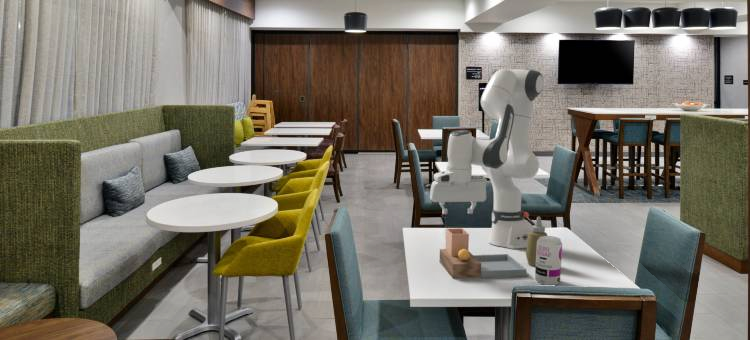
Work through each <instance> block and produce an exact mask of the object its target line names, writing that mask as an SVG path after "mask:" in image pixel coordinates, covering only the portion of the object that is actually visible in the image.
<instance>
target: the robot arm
mask: <svg viewBox="0 0 750 340" xmlns="http://www.w3.org/2000/svg"><path fill="white" fill-rule="evenodd" d="M543 87H544V76H543V75H542V73H541V72H540V71H538V70H534V69H530V70H529V69H523V68H514V69H513V68H512V69H511V68H509V69H508V68H498V69H495V70H493V71H492V72H491V73H490V74H489V76H488V81H487V84H486V86H485V88H484V90H483V92H482V95H481V97H480V106H481V108H482V110H483V112H484V113H485V114H486V115H488V116H489V117H490V118H492V119H495V120H496V121H498V124H497V129H496V132H495V137H494V138H492V139H483V138H476V137H474V136H472V135H473V134H472V132H471V131H470V130H467V129H457V130H454V131H451V132H450V134H449V137H448V143H447V154H446V155H447V156H446V157H447V164H446V169H445V170H442V171H438V172H436V173H434V174H433V179H434V180H433V181H432V182H431V185H430V192H429V199H430V200H431V202H433V203H439V206H440V208H441V209H442V210H441V211H442V212H441V213H442V215H448V208H445V206H446V205H445V203H452V202H453V203H460V202H461V203H462V202H463V203H465V202H466V203H467V202H468V203H469V202H470V204H471V205H470V207H468V208H467V214H468V215H473V213H474V210H475V208H476V206H477V203H479V202H480V203H481V202H482V203H483V202H486V200H487V189H486V188H487V183H488V181H487V178H486V177H485V176H483V175H472V174H473V173H472V170H473V169H472V168H473V166H472V165H474V166H479V167H481V169H482V170H483V172H485V174H486V175H487V177H488V179H489V180H490V183H491V185H492V191H493V208H491V210H492V211H491V229H490V234H489V237H488V243H489V244H491V245H493V246H496V247H502V248H503V247H504V248H508V249H511V250H513V249H514V250H515V249H527V243H528V237H529V232H531V231H532V226H534V224H533V225H532V223H530V222H529V221H528V220H526V219H525V218H529V216H530V214H529V212H527V211H524V210H522V205H521V204H522V192H521V189H519V187H518V186H516V184H514V181H513V179H512V178H514V179H520V180H523V179H524V180H525V179H532V178H535V176H536V175H537V174H538V172H539V168H540V162H539V159H538V157H537V156H536V155H535V154H534V152H533V151H532V147H531V146H530V130H531V124H532V119H533V113H534V112H533V111H534V100H535V99H536V98H537V97H539V96H540V94H541V93H542V91H543Z"/></svg>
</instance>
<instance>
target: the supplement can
mask: <svg viewBox="0 0 750 340" xmlns="http://www.w3.org/2000/svg"><path fill="white" fill-rule="evenodd" d="M562 256H563V243H562V240H561V238H559V237H556V236H550V235H547V236H541V237H539V239H538V241H537V249H536V266H535V271H534V272H535V273H534V280H535V281H536V282H537V283H538V284H540V283H541V285H543V286H544V285H545V286H556V285H558V284H559V283H560V282H561V272H562Z"/></svg>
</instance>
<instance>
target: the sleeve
mask: <svg viewBox="0 0 750 340" xmlns="http://www.w3.org/2000/svg"><path fill="white" fill-rule="evenodd" d="M469 238H470V233H468V231H466V230H465V229H464V228H463V227H460V228H456V227H455V228H445V249H446V251H447V252H448V253H449V254H450V255H451V256H458V253H459V251H460V250H461V249H466V250H468V251H469V241H470V239H469Z"/></svg>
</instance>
